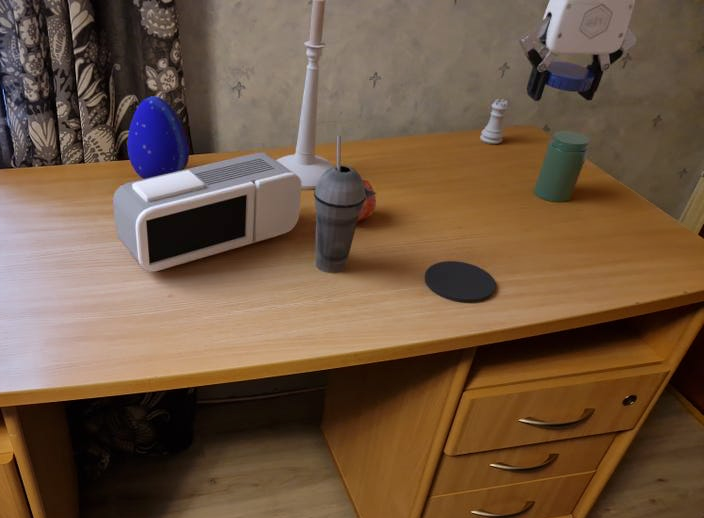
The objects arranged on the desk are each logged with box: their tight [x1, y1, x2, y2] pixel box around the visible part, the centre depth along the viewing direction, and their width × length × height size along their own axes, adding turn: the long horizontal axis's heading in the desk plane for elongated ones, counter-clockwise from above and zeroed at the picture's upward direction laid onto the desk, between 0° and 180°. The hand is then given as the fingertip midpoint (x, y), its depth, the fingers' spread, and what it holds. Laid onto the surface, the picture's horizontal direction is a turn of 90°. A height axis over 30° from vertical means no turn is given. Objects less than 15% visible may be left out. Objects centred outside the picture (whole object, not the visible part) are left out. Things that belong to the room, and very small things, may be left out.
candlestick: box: [275, 0, 336, 191], centre depth 117 cm, size 13×13×30 cm
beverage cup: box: [313, 133, 366, 274], centre depth 96 cm, size 7×7×20 cm
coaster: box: [424, 260, 497, 304], centre depth 99 cm, size 10×10×1 cm
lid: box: [545, 61, 595, 93], centre depth 95 cm, size 7×7×2 cm
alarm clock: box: [112, 151, 302, 272], centre depth 103 cm, size 27×9×12 cm, turn 119°
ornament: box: [126, 95, 190, 180], centre depth 119 cm, size 11×9×15 cm
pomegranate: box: [357, 179, 378, 222], centre depth 112 cm, size 7×7×10 cm
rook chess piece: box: [479, 98, 509, 145], centre depth 136 cm, size 4×4×8 cm
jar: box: [532, 130, 591, 203], centre depth 118 cm, size 6×6×10 cm
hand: (559, 96), depth 97 cm, fingers closed on lid, 6 cm apart
